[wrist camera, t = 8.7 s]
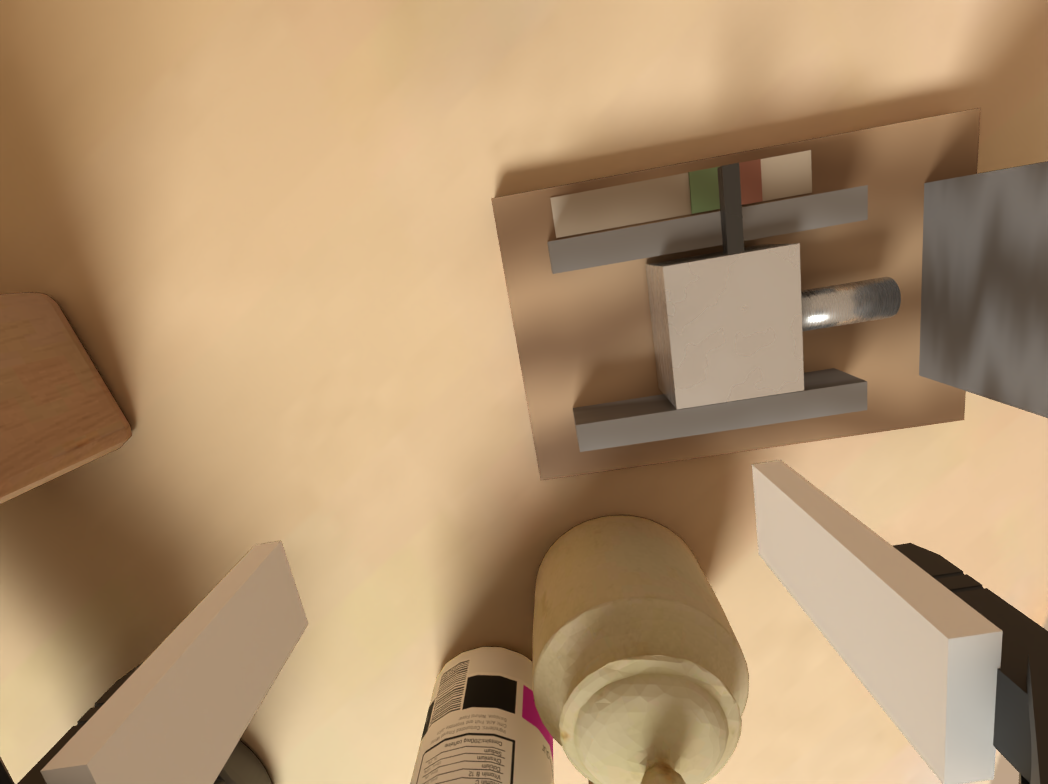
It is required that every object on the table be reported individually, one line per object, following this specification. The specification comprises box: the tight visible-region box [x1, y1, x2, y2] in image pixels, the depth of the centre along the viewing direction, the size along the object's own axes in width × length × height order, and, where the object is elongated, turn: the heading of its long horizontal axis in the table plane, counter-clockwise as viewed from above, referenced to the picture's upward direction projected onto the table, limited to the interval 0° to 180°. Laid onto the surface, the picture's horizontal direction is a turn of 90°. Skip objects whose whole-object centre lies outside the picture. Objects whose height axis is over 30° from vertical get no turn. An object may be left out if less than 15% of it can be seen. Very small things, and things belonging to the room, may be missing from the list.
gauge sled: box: [645, 163, 901, 409], centre depth 25 cm, size 10×11×5 cm
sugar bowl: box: [532, 515, 749, 784], centre depth 28 cm, size 15×11×15 cm
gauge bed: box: [491, 108, 1048, 480], centre depth 25 cm, size 16×24×10 cm, turn 100°
